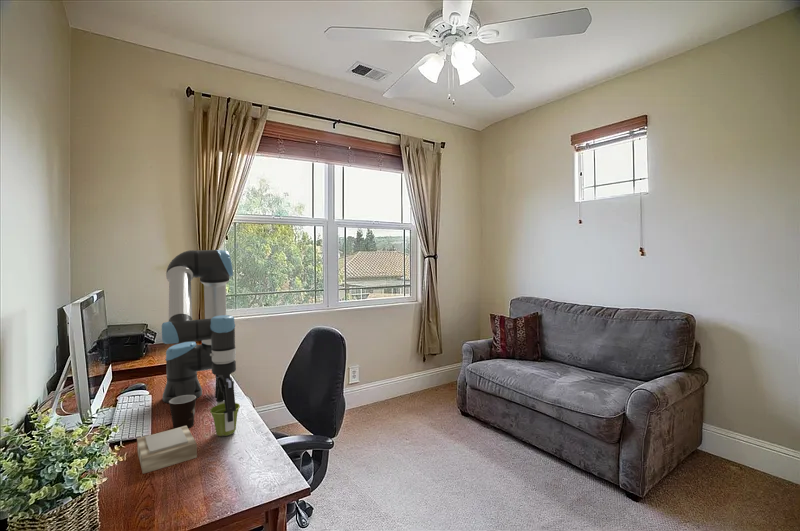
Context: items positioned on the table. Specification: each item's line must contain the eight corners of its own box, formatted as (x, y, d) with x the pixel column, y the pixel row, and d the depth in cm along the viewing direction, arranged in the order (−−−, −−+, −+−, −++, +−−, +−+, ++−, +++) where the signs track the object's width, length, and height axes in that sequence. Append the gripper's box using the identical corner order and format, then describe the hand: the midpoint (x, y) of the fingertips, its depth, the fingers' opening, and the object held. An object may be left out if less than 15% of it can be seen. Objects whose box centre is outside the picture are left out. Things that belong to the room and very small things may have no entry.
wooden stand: (137, 451, 123) (136, 436, 123) (186, 438, 132) (186, 423, 132) (142, 473, 111) (142, 456, 111) (197, 457, 120) (196, 441, 120)
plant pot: (221, 441, 128) (220, 415, 128) (205, 434, 133) (204, 409, 133) (246, 430, 136) (245, 405, 136) (229, 424, 141) (229, 400, 141)
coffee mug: (185, 432, 136) (184, 404, 136) (164, 430, 138) (163, 403, 138) (207, 418, 148) (207, 392, 147) (188, 417, 149) (187, 391, 149)
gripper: (204, 356, 140) (206, 417, 141) (220, 371, 122) (222, 440, 123) (226, 352, 144) (228, 411, 145) (245, 366, 127) (246, 433, 128)
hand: (225, 424), depth 134 cm, fingers closed on plant pot, 9 cm apart
